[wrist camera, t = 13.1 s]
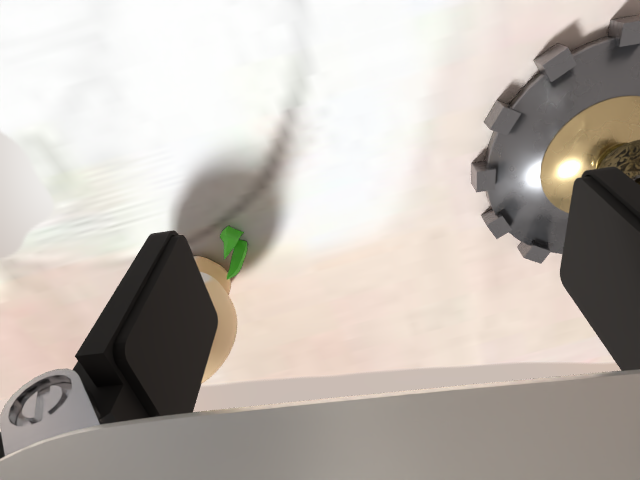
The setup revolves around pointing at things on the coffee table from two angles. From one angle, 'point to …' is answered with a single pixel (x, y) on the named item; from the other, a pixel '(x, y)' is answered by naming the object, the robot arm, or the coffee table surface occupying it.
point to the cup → (622, 159)
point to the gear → (558, 135)
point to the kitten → (222, 296)
